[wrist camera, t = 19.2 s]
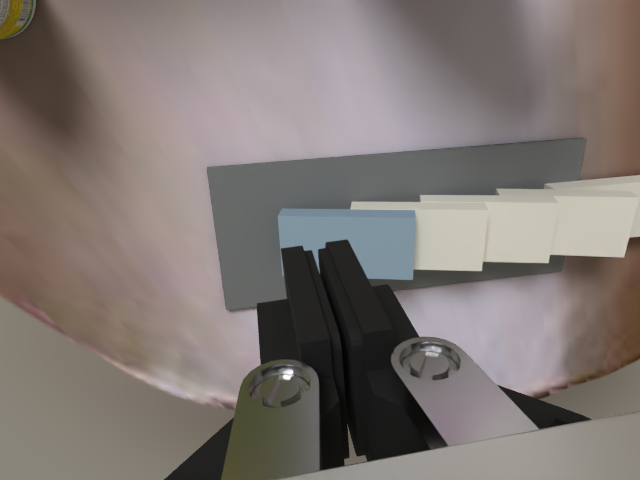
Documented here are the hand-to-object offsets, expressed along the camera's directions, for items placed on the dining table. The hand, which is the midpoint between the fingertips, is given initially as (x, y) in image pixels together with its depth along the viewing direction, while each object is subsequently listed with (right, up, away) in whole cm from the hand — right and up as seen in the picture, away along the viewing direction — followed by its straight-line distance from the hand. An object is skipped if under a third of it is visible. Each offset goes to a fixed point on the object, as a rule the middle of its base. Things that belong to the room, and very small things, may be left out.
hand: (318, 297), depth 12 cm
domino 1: (+3, +2, +26) cm, 26 cm away
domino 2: (+8, +2, +27) cm, 28 cm away
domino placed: (-3, +1, +25) cm, 26 cm away
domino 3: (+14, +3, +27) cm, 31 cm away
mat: (+7, +3, +28) cm, 29 cm away
